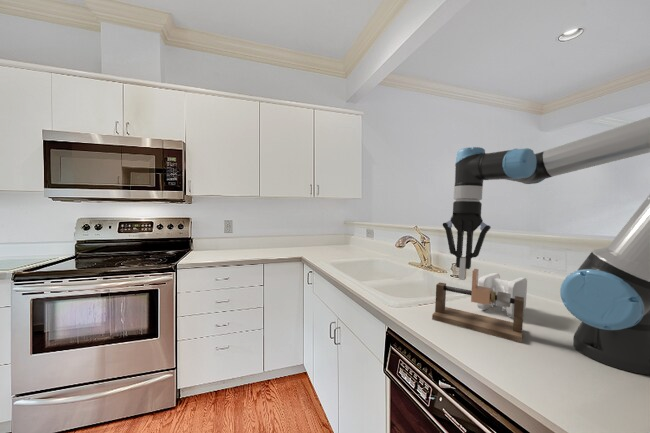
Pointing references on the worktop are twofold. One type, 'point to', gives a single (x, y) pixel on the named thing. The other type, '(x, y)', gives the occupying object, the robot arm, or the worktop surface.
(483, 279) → the cable organizer
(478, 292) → the tan wooden l-shaped block
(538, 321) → the worktop surface
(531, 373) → the worktop surface
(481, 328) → the brown rod stand
